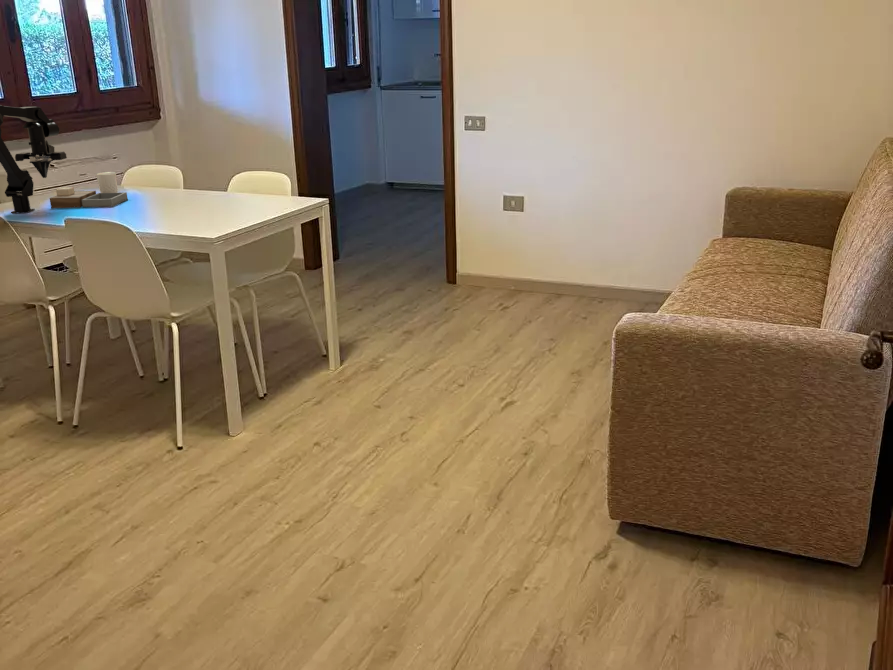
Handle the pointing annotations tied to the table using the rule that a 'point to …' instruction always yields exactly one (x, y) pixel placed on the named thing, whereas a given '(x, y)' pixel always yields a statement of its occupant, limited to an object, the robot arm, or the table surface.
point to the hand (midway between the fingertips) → (44, 177)
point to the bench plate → (70, 199)
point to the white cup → (107, 182)
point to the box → (104, 199)
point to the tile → (65, 191)
